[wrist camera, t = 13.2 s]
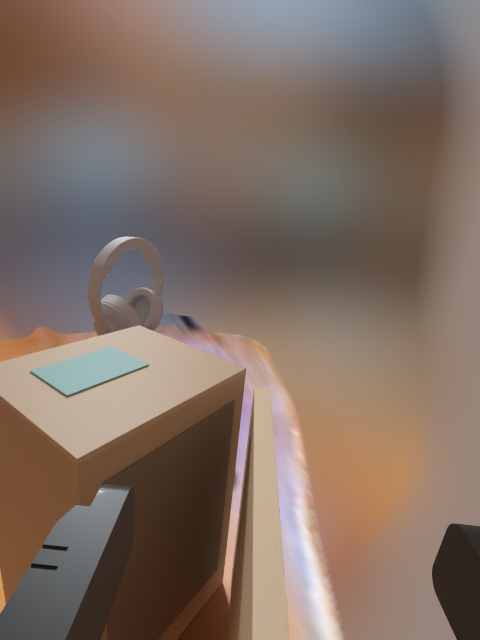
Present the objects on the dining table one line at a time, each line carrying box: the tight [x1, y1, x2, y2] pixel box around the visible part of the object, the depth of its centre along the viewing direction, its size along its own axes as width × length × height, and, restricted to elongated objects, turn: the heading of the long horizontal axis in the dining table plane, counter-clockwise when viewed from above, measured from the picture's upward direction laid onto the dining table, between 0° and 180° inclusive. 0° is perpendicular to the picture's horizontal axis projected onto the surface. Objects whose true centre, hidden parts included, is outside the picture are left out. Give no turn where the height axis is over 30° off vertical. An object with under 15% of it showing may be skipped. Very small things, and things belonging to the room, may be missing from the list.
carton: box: [0, 325, 246, 640], centre depth 23 cm, size 11×10×18 cm
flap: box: [228, 387, 290, 640], centre depth 16 cm, size 18×1×16 cm, turn 178°
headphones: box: [88, 237, 163, 336], centre depth 68 cm, size 19×8×20 cm, turn 156°
